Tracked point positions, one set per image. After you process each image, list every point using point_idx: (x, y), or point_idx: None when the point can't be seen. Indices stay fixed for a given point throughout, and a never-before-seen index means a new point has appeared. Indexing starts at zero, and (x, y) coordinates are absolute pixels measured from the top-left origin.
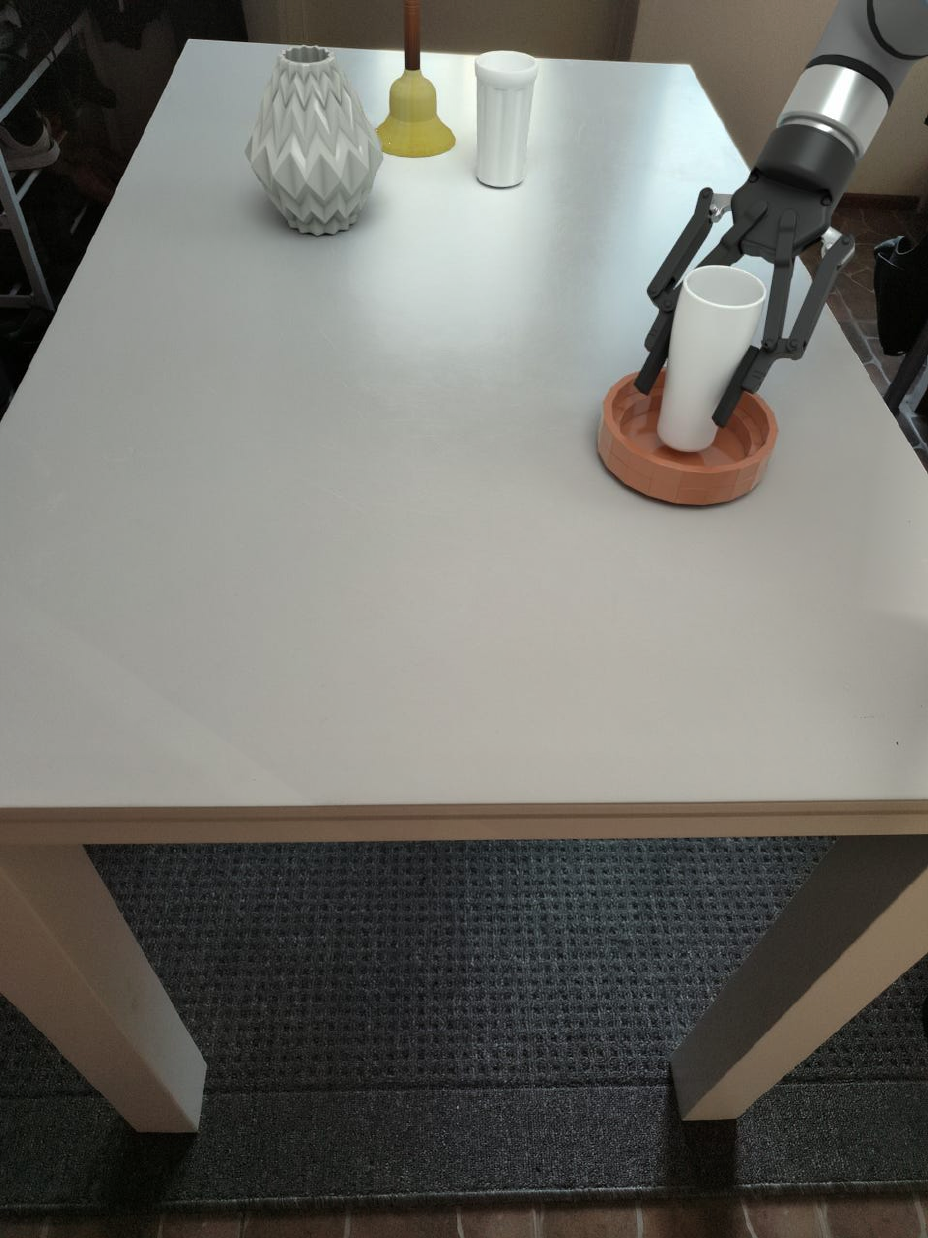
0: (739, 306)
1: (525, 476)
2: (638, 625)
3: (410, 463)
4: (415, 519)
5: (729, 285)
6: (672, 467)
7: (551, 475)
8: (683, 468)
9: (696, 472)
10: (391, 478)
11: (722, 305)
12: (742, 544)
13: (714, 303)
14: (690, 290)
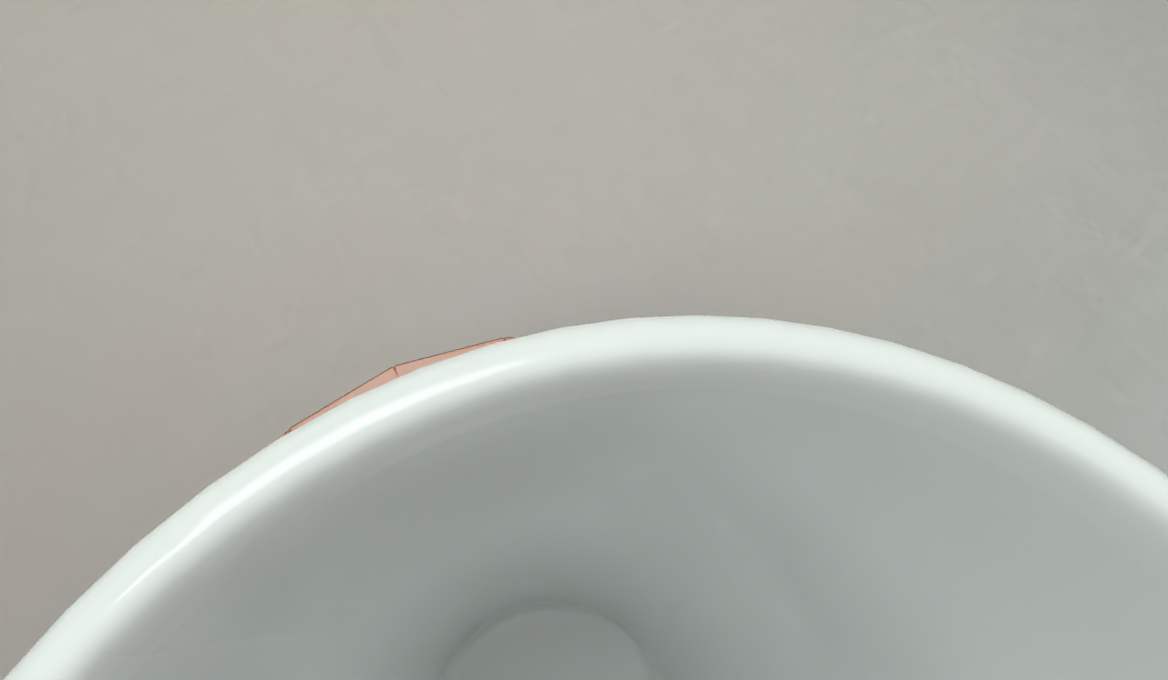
0: (121, 566)
1: (841, 270)
2: (297, 17)
3: (1073, 136)
4: (904, 5)
5: None
6: (439, 355)
7: (793, 319)
8: (400, 373)
9: (349, 393)
10: (1053, 72)
11: (422, 372)
12: (154, 422)
13: (569, 350)
14: (1102, 466)
